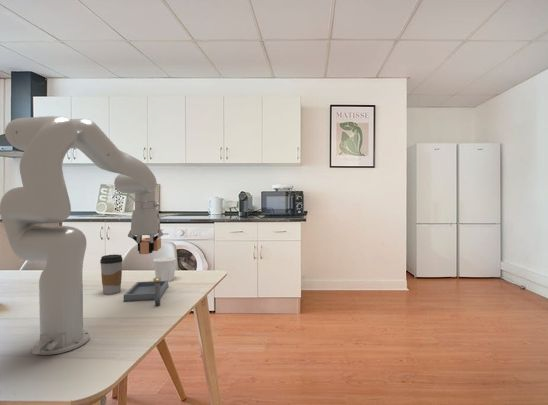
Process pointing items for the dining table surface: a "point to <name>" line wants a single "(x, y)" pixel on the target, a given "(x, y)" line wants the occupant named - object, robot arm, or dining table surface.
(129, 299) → the tray
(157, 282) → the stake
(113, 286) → the coffee cup
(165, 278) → the cup
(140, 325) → the dining table surface
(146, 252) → the orange flat handled frame
